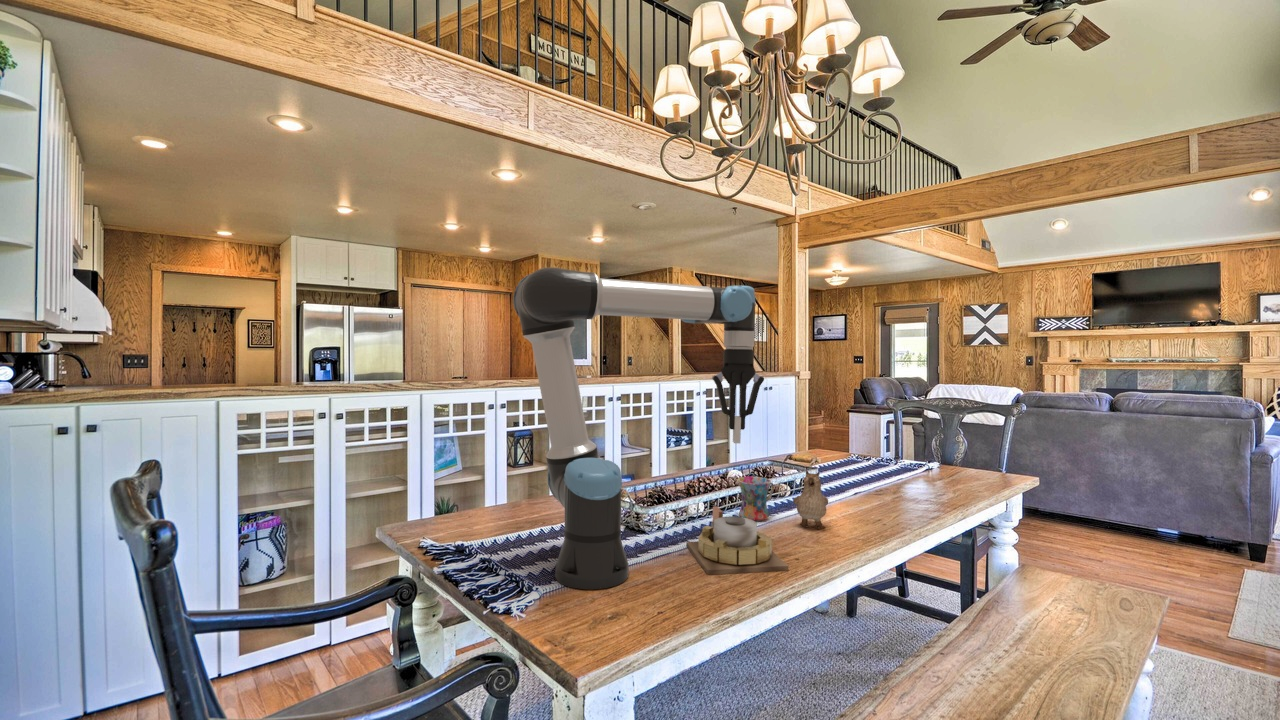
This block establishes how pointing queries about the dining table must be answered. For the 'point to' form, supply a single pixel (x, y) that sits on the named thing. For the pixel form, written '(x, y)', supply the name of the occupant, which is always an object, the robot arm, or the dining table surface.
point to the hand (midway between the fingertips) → (736, 442)
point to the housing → (736, 535)
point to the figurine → (811, 501)
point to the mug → (754, 497)
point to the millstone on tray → (732, 554)
